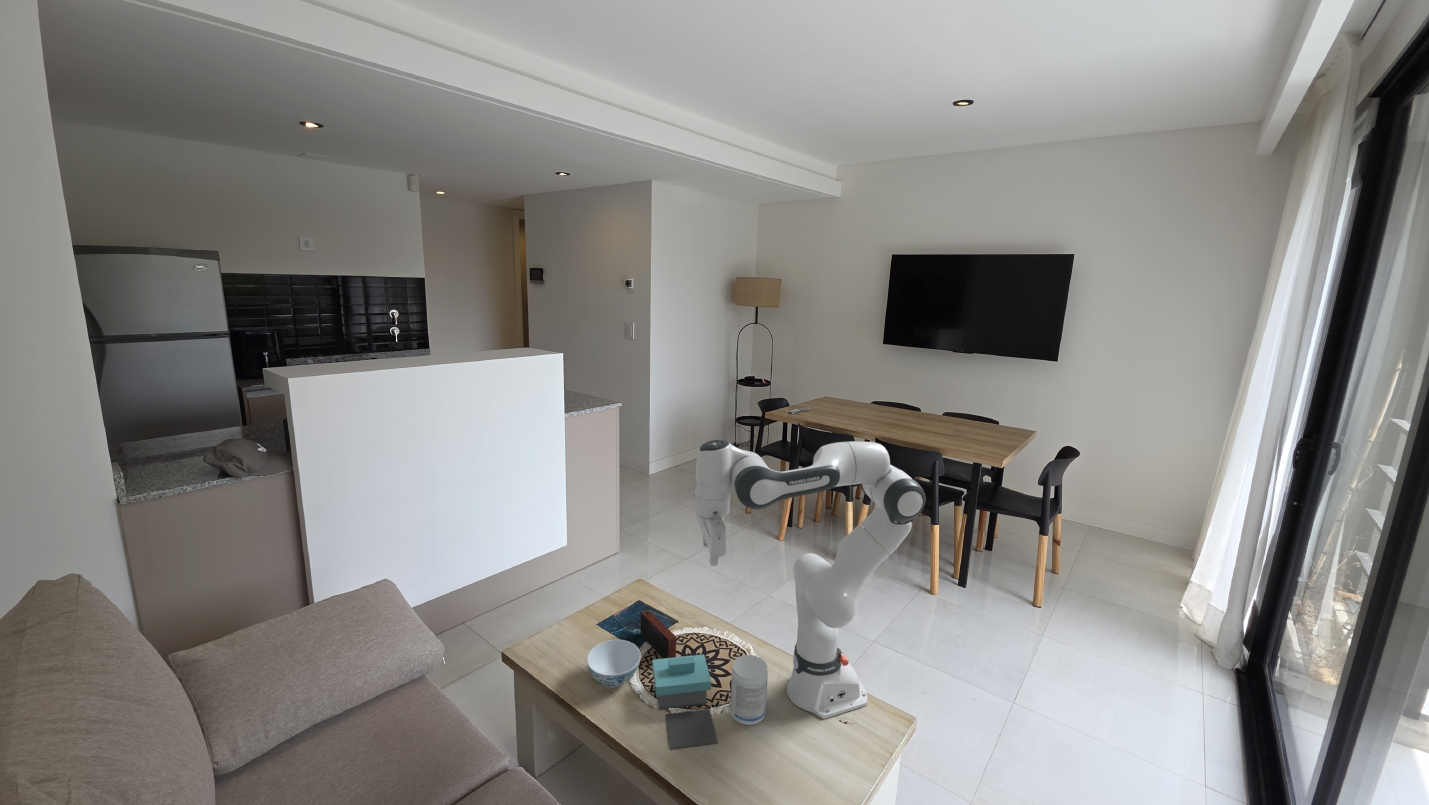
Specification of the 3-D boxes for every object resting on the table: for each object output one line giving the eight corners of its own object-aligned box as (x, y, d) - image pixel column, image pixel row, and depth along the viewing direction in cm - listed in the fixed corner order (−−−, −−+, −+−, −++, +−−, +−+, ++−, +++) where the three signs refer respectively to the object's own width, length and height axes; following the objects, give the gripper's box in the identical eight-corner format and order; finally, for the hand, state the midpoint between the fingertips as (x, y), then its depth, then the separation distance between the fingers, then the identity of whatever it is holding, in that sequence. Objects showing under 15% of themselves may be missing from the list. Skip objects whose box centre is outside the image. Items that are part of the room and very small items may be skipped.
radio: (639, 635, 183) (639, 594, 179) (647, 632, 185) (648, 591, 181) (670, 669, 169) (671, 624, 165) (679, 665, 171) (680, 621, 167)
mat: (709, 710, 154) (709, 708, 154) (717, 743, 143) (717, 741, 143) (665, 715, 151) (665, 714, 151) (670, 749, 141) (670, 748, 141)
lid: (703, 662, 164) (704, 645, 162) (710, 689, 154) (711, 671, 152) (652, 668, 161) (652, 650, 159) (656, 696, 151) (656, 677, 149)
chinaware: (612, 707, 153) (612, 683, 151) (576, 681, 162) (575, 658, 160) (651, 677, 165) (651, 654, 163) (615, 654, 174) (615, 632, 172)
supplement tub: (772, 717, 152) (776, 671, 149) (743, 732, 147) (746, 684, 143) (750, 694, 160) (753, 649, 156) (722, 707, 155) (725, 661, 151)
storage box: (700, 681, 164) (701, 660, 162) (706, 704, 156) (707, 683, 154) (655, 686, 162) (655, 665, 160) (658, 710, 153) (659, 688, 151)
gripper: (734, 522, 132) (731, 575, 135) (716, 488, 151) (714, 535, 154) (707, 523, 130) (705, 577, 134) (692, 489, 150) (691, 536, 153)
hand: (709, 554), depth 144 cm, fingers open, 8 cm apart
